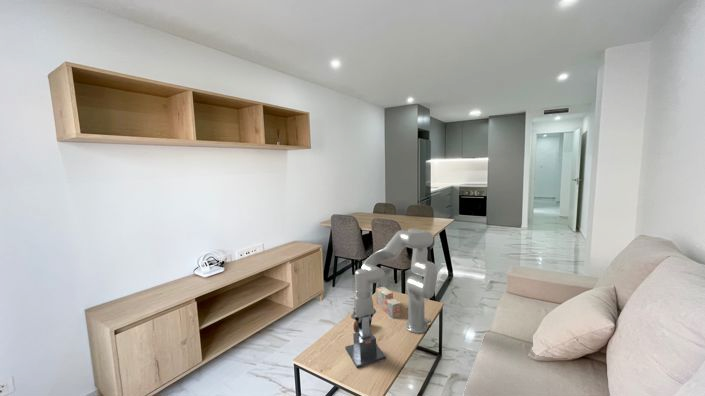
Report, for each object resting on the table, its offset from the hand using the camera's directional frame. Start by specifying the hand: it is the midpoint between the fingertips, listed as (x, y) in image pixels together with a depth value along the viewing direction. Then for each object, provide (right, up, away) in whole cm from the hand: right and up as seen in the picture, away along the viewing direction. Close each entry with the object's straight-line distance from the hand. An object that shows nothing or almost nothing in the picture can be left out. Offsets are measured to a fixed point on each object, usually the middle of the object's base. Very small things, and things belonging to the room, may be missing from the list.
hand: (364, 327), depth 148 cm
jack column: (0, -10, +1) cm, 10 cm away
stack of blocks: (+18, -10, +46) cm, 51 cm away
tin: (0, -13, +24) cm, 27 cm away
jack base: (0, -15, +2) cm, 15 cm away
